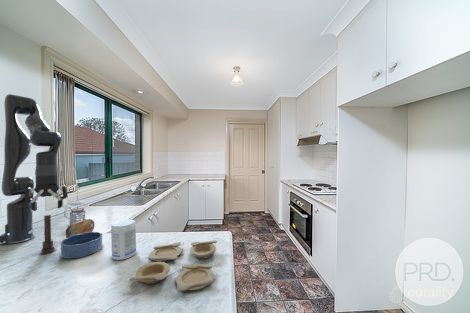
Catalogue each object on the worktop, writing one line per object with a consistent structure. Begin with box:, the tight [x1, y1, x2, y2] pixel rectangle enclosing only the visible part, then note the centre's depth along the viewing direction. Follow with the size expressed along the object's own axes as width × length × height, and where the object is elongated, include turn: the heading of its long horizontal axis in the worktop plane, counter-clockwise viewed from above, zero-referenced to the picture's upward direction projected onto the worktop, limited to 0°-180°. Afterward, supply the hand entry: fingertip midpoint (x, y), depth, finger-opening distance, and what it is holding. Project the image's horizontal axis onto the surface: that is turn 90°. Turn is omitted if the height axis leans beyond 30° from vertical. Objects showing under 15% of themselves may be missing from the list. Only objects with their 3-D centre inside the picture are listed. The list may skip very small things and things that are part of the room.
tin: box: [64, 218, 95, 239], centre depth 110 cm, size 15×3×8 cm, turn 168°
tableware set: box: [129, 239, 218, 293], centre depth 81 cm, size 35×29×4 cm
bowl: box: [60, 231, 103, 259], centre depth 94 cm, size 15×15×6 cm
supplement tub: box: [110, 218, 137, 261], centre depth 90 cm, size 10×10×15 cm
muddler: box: [40, 214, 55, 255], centre depth 93 cm, size 4×4×17 cm
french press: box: [63, 185, 86, 228], centre depth 128 cm, size 10×12×25 cm
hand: (47, 209), depth 93 cm, fingers open, 8 cm apart
